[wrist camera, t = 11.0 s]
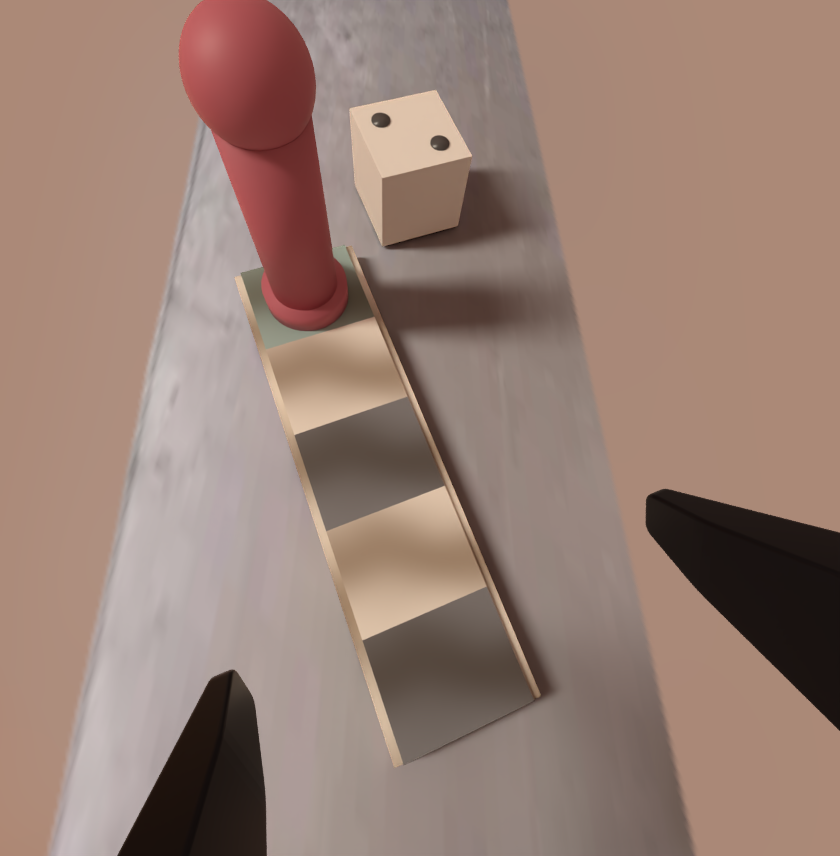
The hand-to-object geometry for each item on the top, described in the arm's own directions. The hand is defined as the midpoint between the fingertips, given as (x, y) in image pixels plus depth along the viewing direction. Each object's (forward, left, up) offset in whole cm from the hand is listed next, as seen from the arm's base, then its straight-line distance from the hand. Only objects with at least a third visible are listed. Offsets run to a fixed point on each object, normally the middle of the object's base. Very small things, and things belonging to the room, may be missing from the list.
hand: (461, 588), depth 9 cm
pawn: (+16, 0, -12) cm, 21 cm away
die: (+21, -8, -13) cm, 26 cm away
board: (+6, 0, -13) cm, 15 cm away
